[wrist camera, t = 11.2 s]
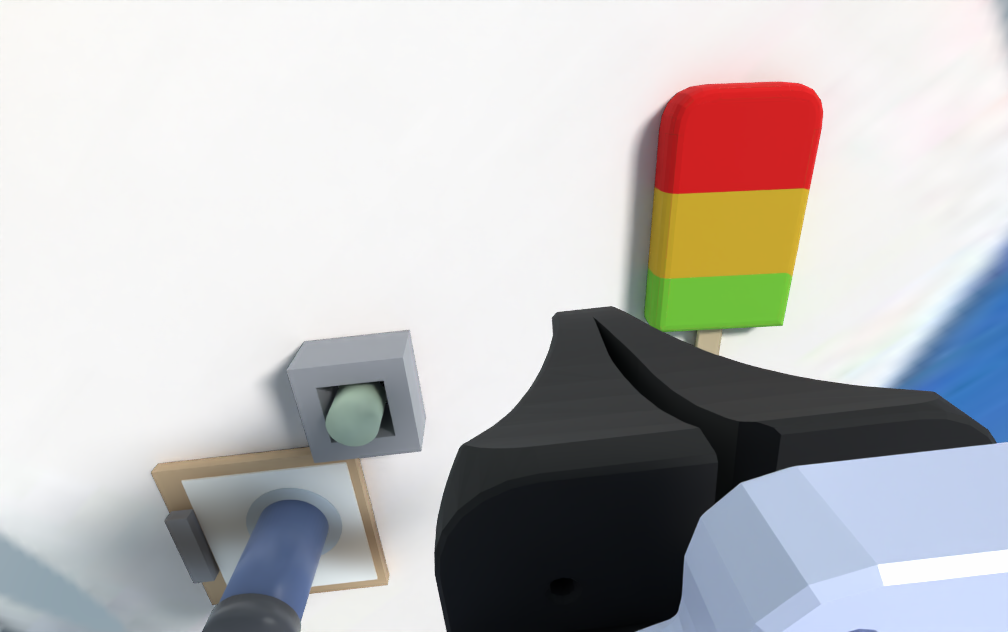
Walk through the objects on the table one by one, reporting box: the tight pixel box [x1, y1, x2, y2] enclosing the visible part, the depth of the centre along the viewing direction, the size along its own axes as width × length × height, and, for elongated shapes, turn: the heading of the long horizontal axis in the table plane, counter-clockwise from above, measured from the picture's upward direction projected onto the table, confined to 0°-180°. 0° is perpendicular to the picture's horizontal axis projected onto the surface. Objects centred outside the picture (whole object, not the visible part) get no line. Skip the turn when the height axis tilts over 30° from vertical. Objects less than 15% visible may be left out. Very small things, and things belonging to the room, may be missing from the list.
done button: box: [325, 381, 387, 447], centre depth 21 cm, size 2×2×2 cm
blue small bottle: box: [202, 500, 329, 632], centre depth 23 cm, size 3×3×6 cm
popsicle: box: [644, 82, 823, 355], centre depth 22 cm, size 6×15×2 cm, turn 2°
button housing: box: [286, 330, 426, 463], centre depth 22 cm, size 4×4×2 cm
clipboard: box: [151, 447, 389, 605], centre depth 26 cm, size 9×9×1 cm
